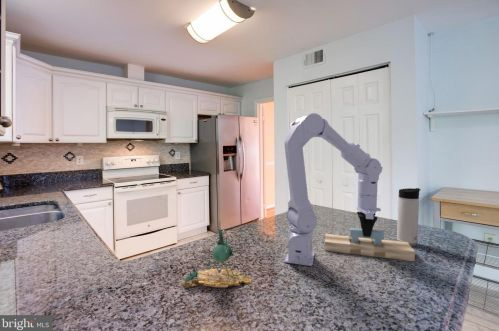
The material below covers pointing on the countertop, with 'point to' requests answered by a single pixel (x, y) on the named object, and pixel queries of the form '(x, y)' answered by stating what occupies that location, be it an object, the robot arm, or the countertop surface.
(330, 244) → the rail
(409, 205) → the travel mug
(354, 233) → the clip
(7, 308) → the countertop surface
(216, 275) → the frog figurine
